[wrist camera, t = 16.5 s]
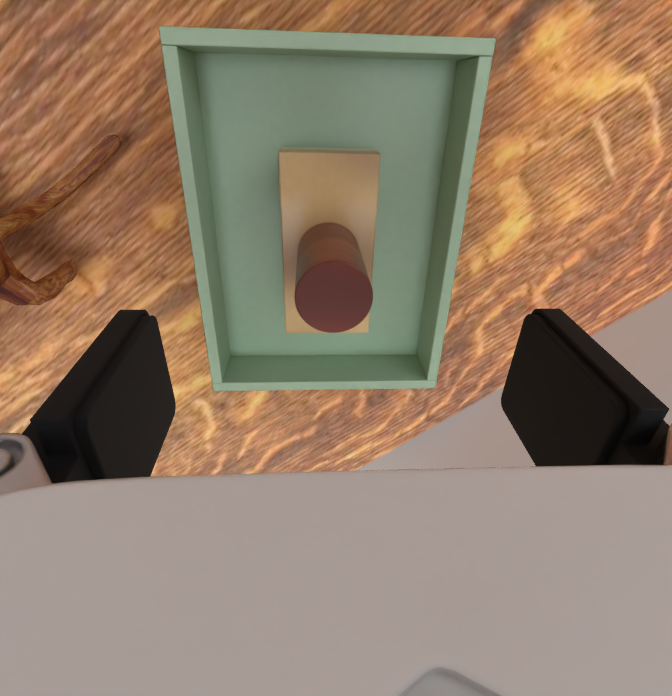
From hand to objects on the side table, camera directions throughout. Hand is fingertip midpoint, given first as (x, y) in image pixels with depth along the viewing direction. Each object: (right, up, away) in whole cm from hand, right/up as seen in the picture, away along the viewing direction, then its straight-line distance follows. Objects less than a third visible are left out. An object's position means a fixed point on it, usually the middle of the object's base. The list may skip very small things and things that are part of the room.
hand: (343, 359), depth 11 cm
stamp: (-1, +7, +13) cm, 14 cm away
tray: (-1, +7, +13) cm, 15 cm away
